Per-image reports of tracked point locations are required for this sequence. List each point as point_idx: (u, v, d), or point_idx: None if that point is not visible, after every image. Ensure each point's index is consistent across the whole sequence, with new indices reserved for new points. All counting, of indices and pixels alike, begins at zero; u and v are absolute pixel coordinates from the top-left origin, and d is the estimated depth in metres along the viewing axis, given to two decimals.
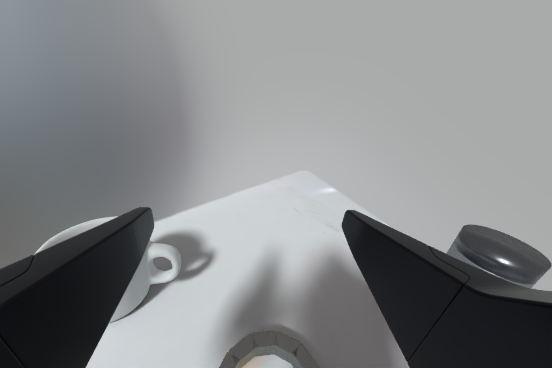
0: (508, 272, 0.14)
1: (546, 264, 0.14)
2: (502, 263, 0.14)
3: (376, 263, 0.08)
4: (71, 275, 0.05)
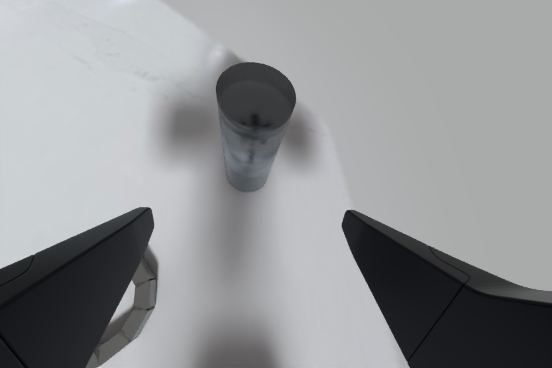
0: (253, 133, 0.12)
1: (288, 110, 0.12)
2: (245, 127, 0.12)
3: (376, 263, 0.08)
4: (71, 275, 0.05)
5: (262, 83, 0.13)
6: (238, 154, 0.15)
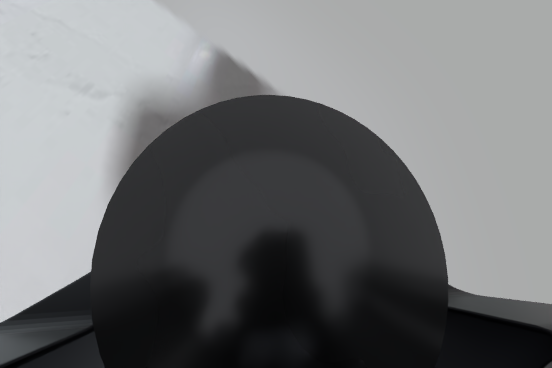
0: None
1: (432, 318, 0.03)
2: None
3: None
4: None
5: (311, 184, 0.03)
6: None
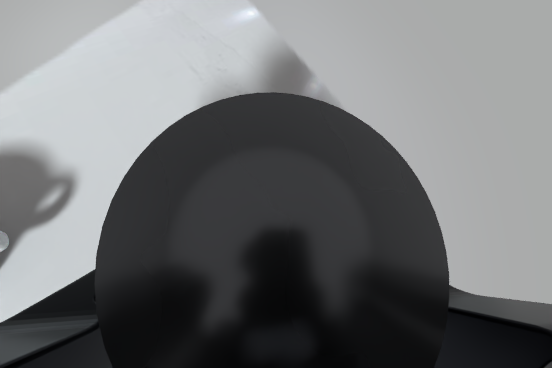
0: None
1: (434, 313, 0.03)
2: None
3: None
4: None
5: (313, 181, 0.03)
6: None
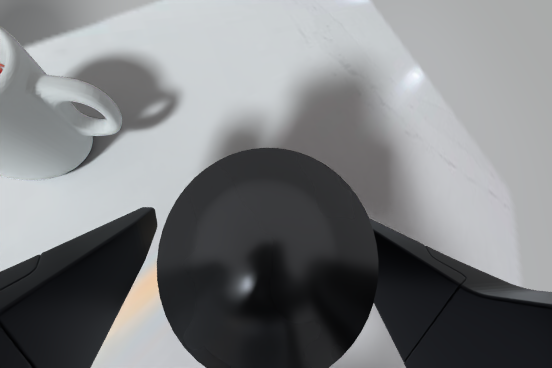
0: None
1: (365, 298, 0.04)
2: None
3: None
4: (77, 275, 0.05)
5: (290, 212, 0.05)
6: None
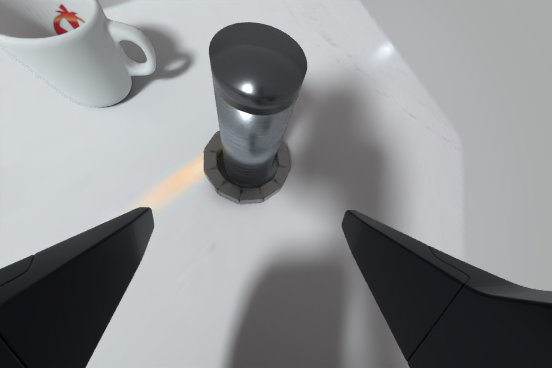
0: (255, 106, 0.10)
1: (298, 78, 0.10)
2: (245, 97, 0.10)
3: (376, 263, 0.08)
4: (71, 275, 0.05)
5: (266, 46, 0.10)
6: (237, 137, 0.13)
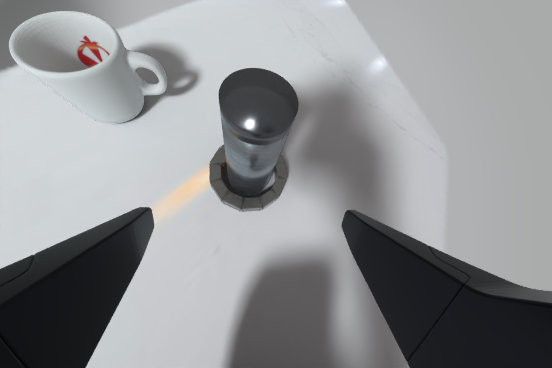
0: (255, 139, 0.12)
1: (291, 116, 0.12)
2: (247, 133, 0.12)
3: (376, 263, 0.08)
4: (71, 275, 0.05)
5: (264, 89, 0.13)
6: (240, 159, 0.15)
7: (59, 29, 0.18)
